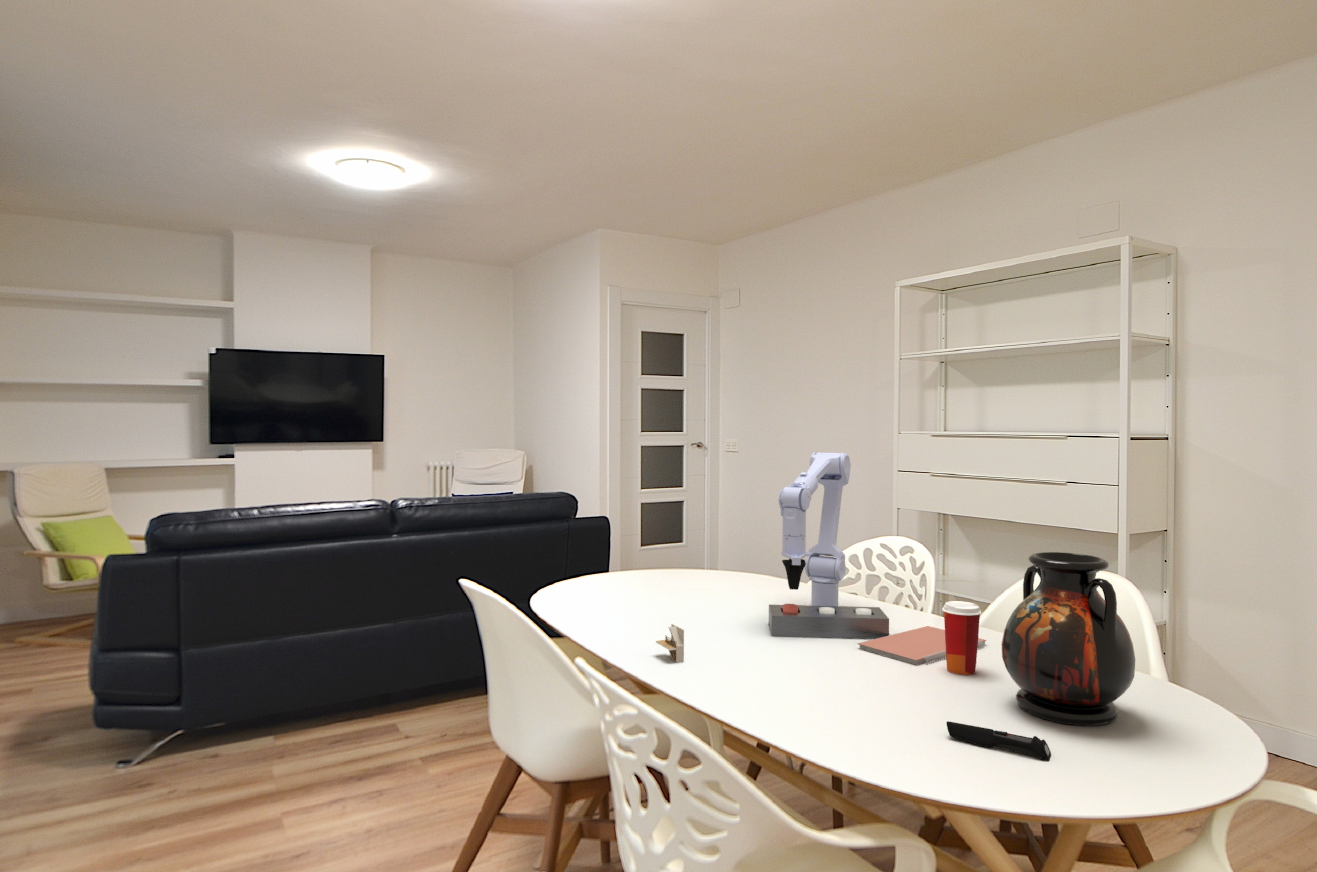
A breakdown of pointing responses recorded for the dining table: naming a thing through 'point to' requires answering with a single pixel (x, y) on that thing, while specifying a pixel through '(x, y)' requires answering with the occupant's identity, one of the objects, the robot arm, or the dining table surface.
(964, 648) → the paper cup
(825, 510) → the robot arm
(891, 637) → the notebook
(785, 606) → the red plug
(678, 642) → the architectural model
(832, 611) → the plug
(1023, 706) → the amphora vase
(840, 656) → the dining table surface
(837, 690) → the dining table surface
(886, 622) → the block
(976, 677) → the dining table surface
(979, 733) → the electric trimmer
